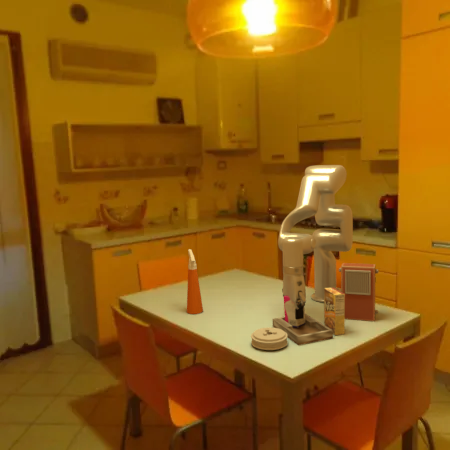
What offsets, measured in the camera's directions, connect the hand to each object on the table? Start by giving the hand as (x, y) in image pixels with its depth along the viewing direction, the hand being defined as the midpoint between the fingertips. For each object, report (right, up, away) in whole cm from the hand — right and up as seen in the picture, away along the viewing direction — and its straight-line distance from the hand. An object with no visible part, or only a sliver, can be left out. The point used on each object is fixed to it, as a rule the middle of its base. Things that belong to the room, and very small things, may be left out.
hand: (293, 314), depth 180 cm
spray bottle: (-39, -3, +25) cm, 47 cm away
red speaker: (+27, -3, +8) cm, 28 cm away
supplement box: (+1, -4, 0) cm, 4 cm away
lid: (-10, -8, -14) cm, 19 cm away
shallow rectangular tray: (+2, -6, -4) cm, 7 cm away
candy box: (+14, -5, -4) cm, 16 cm away
